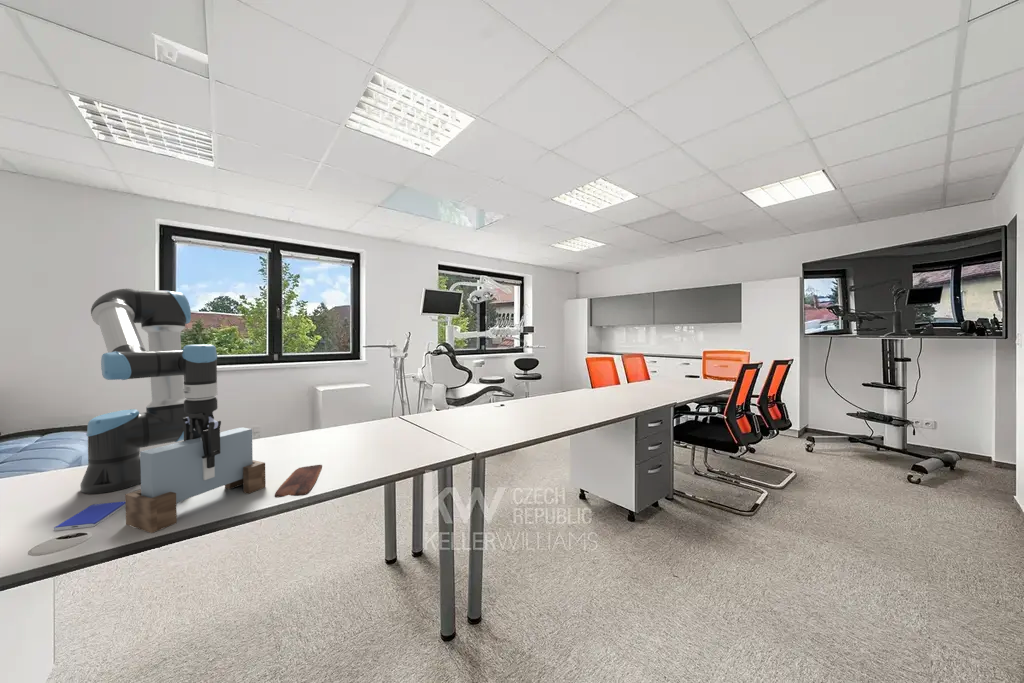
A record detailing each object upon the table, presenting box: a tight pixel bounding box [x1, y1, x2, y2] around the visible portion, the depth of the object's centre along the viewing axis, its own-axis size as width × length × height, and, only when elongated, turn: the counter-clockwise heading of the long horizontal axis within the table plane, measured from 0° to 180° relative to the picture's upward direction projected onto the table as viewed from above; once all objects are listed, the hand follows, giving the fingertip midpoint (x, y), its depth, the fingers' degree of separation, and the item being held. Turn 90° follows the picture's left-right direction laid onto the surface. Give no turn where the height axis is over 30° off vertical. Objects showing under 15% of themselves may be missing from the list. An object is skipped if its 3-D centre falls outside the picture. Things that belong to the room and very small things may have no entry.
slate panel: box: [140, 426, 254, 504], centre depth 111 cm, size 5×26×15 cm, turn 159°
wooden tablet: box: [274, 464, 323, 498], centre depth 130 cm, size 26×2×10 cm
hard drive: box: [53, 500, 126, 531], centre depth 104 cm, size 2×8×12 cm
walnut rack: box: [124, 459, 266, 534], centre depth 112 cm, size 11×30×8 cm, turn 159°
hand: (202, 476), depth 111 cm, fingers closed on slate panel, 5 cm apart
